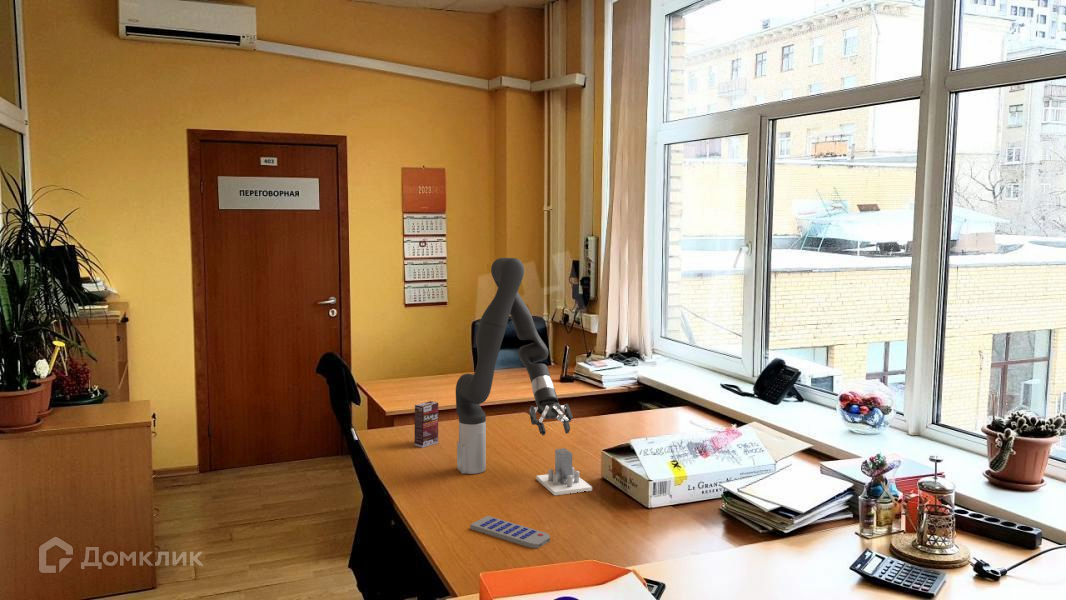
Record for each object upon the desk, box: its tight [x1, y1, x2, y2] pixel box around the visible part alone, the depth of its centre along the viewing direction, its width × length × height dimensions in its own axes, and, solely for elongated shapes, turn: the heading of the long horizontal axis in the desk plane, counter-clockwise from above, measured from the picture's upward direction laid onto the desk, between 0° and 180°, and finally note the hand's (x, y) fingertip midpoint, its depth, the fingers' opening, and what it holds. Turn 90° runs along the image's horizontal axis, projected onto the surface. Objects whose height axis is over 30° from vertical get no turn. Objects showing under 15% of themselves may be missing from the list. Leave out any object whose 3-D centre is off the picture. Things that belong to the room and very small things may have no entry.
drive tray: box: [535, 466, 593, 496], centre depth 254 cm, size 13×16×5 cm
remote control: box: [469, 515, 551, 549], centre depth 215 cm, size 8×23×2 cm, turn 55°
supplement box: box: [414, 400, 439, 448], centre depth 296 cm, size 9×5×16 cm, turn 143°
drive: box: [554, 447, 573, 485], centre depth 254 cm, size 4×6×10 cm, turn 21°
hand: (556, 433), depth 258 cm, fingers open, 8 cm apart
